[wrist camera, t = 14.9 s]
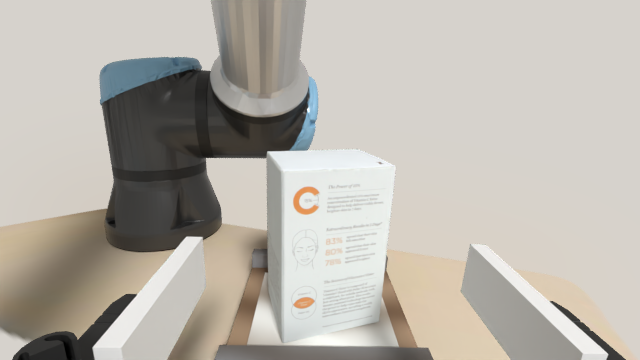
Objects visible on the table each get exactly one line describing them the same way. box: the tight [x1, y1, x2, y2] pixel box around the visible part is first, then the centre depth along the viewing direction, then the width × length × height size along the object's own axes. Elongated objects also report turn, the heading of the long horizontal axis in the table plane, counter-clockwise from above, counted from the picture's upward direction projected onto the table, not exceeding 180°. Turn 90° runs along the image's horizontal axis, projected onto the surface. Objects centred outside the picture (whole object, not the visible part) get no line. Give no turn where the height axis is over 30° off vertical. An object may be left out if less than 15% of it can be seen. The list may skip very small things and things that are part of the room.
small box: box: [267, 149, 396, 343], centre depth 24 cm, size 8×6×13 cm
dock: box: [215, 249, 433, 360], centre depth 27 cm, size 14×14×4 cm
